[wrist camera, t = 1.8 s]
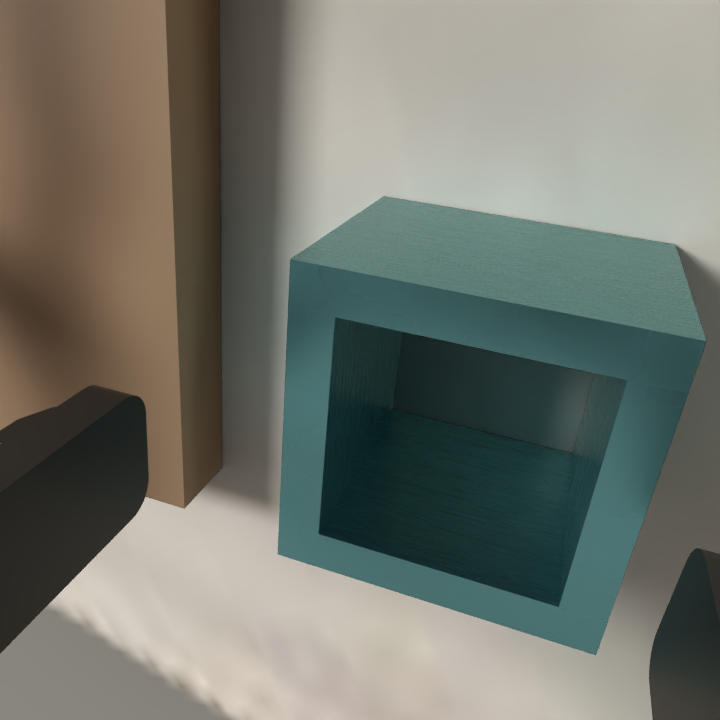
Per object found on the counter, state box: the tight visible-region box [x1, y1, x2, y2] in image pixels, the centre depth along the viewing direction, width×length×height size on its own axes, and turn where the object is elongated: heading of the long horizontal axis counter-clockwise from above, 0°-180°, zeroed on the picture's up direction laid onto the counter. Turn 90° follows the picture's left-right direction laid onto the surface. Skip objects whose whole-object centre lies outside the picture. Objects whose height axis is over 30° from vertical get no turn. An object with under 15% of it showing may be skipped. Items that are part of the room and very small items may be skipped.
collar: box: [278, 196, 706, 655], centre depth 13 cm, size 6×6×5 cm
